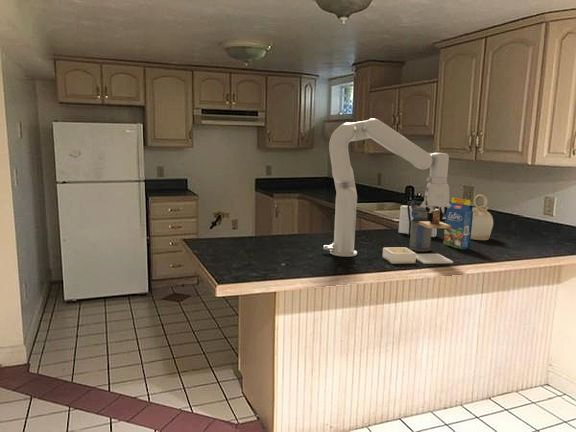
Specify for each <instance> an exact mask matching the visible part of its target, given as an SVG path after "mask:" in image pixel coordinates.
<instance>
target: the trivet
mask: <svg viewBox="0 0 576 432" xmlns="http://www.w3.org/2000/svg"><path fill="white" fill-rule="evenodd" d="M416 260H417V261H418V262H420V263H422V264H424V265H425V264H427V265H428V264H431V265H432V264H433V265H434V264H454V260H451V259H450V258H447V257H445V256H443V255H442V254H440V253H416Z"/></svg>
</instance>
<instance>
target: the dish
mask: <svg viewBox="0 0 576 432" xmlns="http://www.w3.org/2000/svg"><path fill="white" fill-rule="evenodd" d="M398 251H400V252H402V253H396V252H398ZM416 254H417V252H416V251H413V250H411V249H410V248H408V247H406V246H405V247H403V246H402V247H398V246H397V247H392V246H391V247H383V248H382V258H383V259H384V260H386V261H388V262H389V263H390V264H416V260H417V259H416Z"/></svg>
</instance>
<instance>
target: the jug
mask: <svg viewBox="0 0 576 432" xmlns="http://www.w3.org/2000/svg"><path fill="white" fill-rule="evenodd" d="M479 198H482V199H483V204H482V205H479V203H478V200H479ZM473 205H474V207H471V209H472V211H473V220H472V230H471V240H475V241H476V240H477V241H488V240H489V239H490V237H491V233H492V231H493V228H494V218H493V215H492V214H491V213H490V212H489V211H488V210H489V207H488V206H487V205H488V198H487V196H486V195H484V194H477V195H476V196H475V197H474V199H473Z"/></svg>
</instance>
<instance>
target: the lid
mask: <svg viewBox="0 0 576 432" xmlns="http://www.w3.org/2000/svg"><path fill="white" fill-rule="evenodd" d="M432 213H433V220H432V222H429V221H421V222H419V224H420V225H422V226H424V227H427V228H437V229H445V228H451V225H448V224H446V223H445V222H443V221H442V222H439V221H440V210H432Z"/></svg>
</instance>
